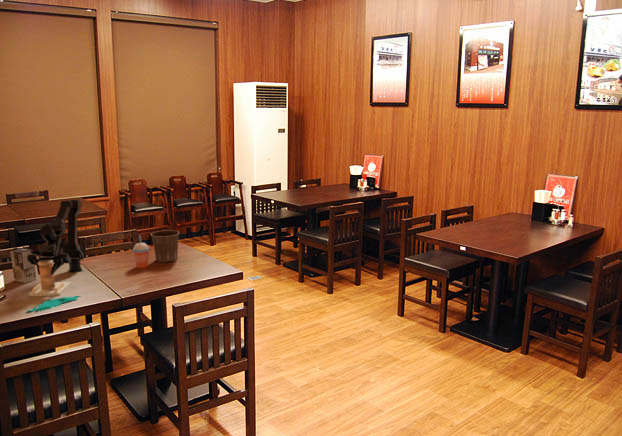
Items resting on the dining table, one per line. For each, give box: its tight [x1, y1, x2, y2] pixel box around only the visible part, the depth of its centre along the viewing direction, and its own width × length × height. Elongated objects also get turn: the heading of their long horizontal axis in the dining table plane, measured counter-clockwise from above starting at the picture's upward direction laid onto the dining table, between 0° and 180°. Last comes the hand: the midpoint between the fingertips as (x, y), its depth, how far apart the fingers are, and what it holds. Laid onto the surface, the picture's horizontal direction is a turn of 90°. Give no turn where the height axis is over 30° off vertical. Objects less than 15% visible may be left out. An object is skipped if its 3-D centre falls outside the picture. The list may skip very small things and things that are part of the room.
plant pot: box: [150, 229, 180, 263], centre depth 297 cm, size 16×16×16 cm
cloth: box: [25, 295, 82, 314], centre depth 232 cm, size 26×14×2 cm, turn 132°
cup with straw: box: [132, 235, 150, 269], centre depth 284 cm, size 9×9×18 cm
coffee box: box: [9, 247, 37, 284], centre depth 263 cm, size 9×6×16 cm
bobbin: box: [38, 260, 56, 292], centre depth 245 cm, size 6×6×14 cm
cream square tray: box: [28, 281, 73, 297], centre depth 249 cm, size 16×14×3 cm
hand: (45, 274), depth 243 cm, fingers closed on bobbin, 6 cm apart
